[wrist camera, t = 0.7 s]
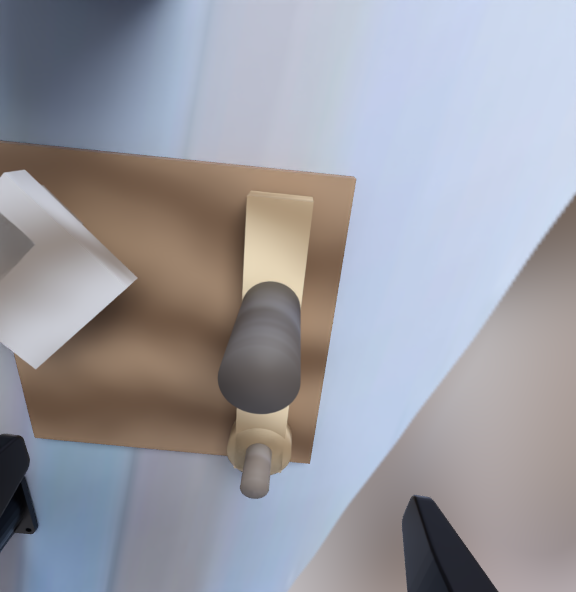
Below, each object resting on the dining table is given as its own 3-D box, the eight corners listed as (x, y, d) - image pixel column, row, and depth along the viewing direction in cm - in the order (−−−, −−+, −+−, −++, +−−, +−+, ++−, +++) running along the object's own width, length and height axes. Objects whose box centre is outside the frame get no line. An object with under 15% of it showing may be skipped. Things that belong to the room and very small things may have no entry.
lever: (288, 459, 25) (284, 583, 18) (230, 454, 25) (203, 575, 18) (323, 197, 18) (336, 239, 11) (240, 189, 18) (203, 225, 11)
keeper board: (309, 452, 26) (311, 515, 22) (40, 426, 26) (-12, 485, 22) (353, 176, 19) (369, 190, 14) (-28, 137, 19) (-130, 139, 14)
